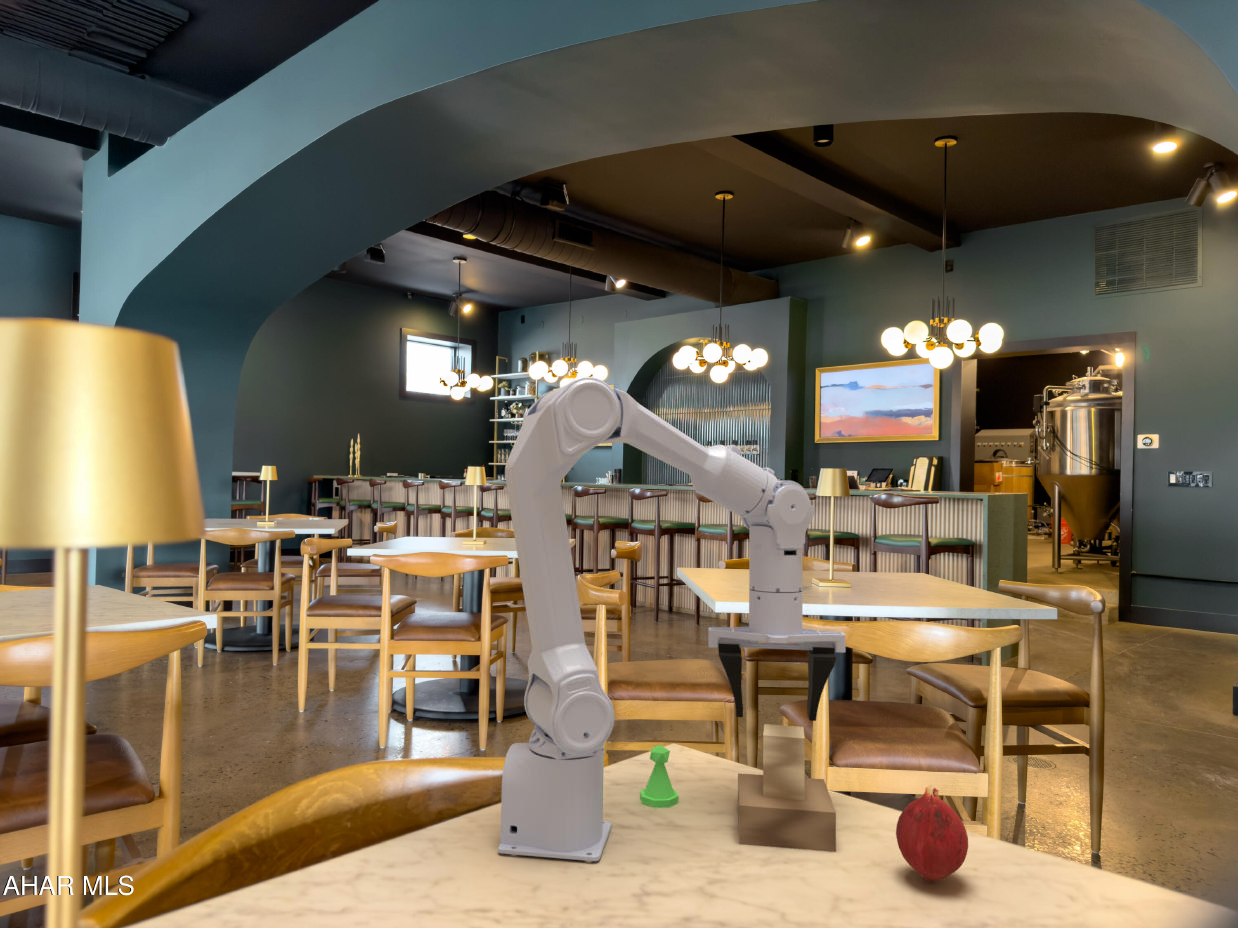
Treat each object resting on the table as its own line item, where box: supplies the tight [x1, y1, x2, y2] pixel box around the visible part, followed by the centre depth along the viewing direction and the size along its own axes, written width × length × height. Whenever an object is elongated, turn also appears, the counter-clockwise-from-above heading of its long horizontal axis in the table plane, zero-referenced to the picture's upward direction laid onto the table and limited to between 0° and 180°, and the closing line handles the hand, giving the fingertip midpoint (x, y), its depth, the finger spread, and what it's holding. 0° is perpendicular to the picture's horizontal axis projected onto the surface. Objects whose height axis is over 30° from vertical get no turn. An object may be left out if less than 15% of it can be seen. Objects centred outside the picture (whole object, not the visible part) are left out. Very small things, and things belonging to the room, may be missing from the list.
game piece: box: [639, 744, 679, 809], centre depth 83 cm, size 4×4×6 cm
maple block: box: [762, 723, 806, 801], centre depth 77 cm, size 4×4×6 cm
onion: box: [895, 785, 969, 883], centre depth 66 cm, size 6×6×8 cm
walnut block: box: [737, 772, 837, 853], centre depth 77 cm, size 9×9×4 cm
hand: (775, 716), depth 82 cm, fingers open, 7 cm apart
